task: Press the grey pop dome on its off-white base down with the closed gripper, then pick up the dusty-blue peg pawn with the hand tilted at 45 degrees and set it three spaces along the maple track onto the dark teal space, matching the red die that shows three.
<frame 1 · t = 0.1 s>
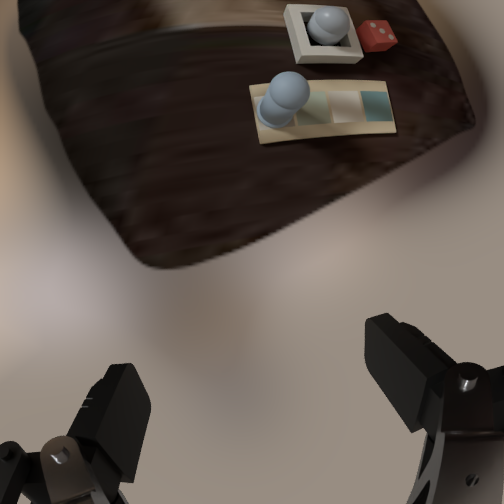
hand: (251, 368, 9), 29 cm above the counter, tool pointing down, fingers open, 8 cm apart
pawn: (274, 111, 33), point 1 cm above the counter, touching track
dome: (330, 22, 27), point 5 cm above the counter, slide at 0.0 cm
dome base: (319, 37, 31), on the counter
track: (327, 108, 34), on the counter
die: (370, 40, 32), on the counter
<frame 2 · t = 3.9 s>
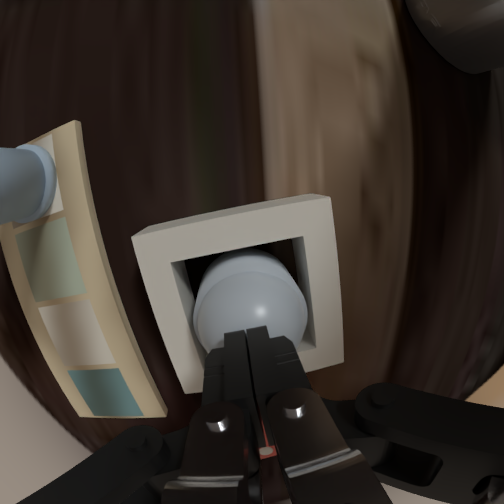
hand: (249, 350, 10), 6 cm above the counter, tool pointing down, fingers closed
pawn: (29, 183, 13), point 1 cm above the counter, touching track
dome: (250, 317, 13), point 4 cm above the counter, slide at 1.3 cm, touching gripper
dome base: (245, 287, 16), on the counter
track: (66, 296, 15), on the counter
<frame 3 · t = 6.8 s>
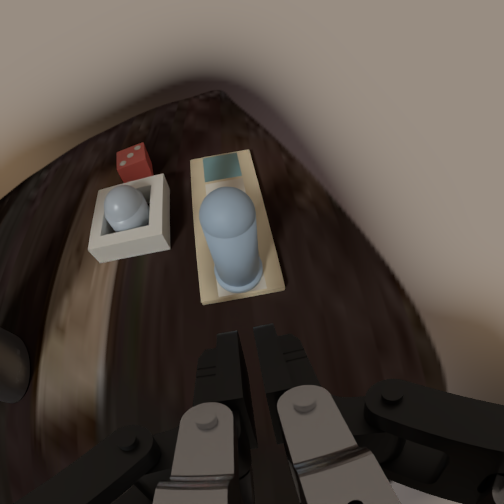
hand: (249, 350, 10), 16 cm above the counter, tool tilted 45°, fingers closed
pawn: (238, 271, 28), point 1 cm above the counter, touching track
dome: (124, 207, 30), point 3 cm above the counter, slide at 1.7 cm
dome base: (135, 224, 33), on the counter
track: (229, 215, 33), on the counter
die: (139, 176, 37), on the counter
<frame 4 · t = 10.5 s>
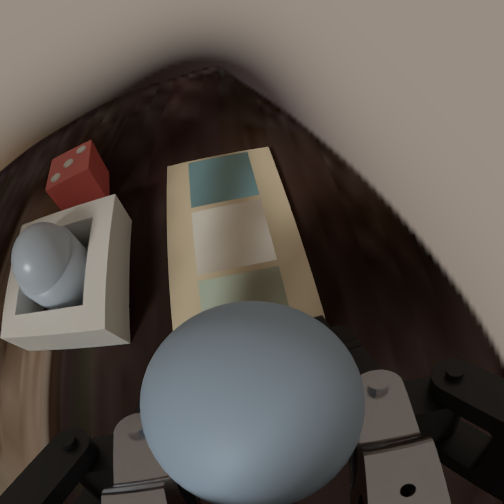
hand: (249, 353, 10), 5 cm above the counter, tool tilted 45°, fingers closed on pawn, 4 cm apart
pawn: (264, 405, 12), point 1 cm above the counter, touching gripper, track
dome: (48, 263, 14), point 3 cm above the counter, slide at 1.7 cm
dome base: (75, 286, 17), on the counter
track: (239, 276, 17), on the counter
die: (89, 195, 21), on the counter
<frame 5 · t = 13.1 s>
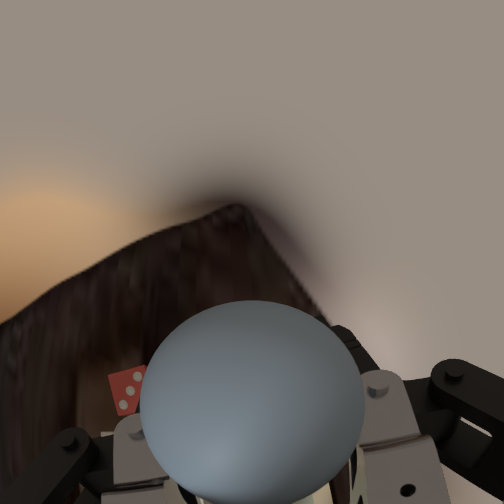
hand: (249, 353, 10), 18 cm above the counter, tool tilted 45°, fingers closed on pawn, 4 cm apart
pawn: (264, 405, 12), point 14 cm above the counter, touching gripper
track: (281, 473, 20), on the counter
die: (147, 393, 25), on the counter
when the fingers open (6 cm above the counter, at t = 15.5 s): pawn drops 1 cm, resting on track.
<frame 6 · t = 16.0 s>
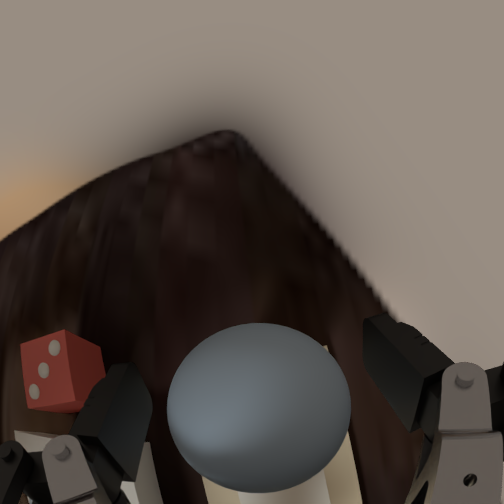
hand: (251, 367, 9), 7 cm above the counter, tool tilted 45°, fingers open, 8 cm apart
pawn: (265, 406, 13), point 1 cm above the counter, touching track
dome base: (101, 499, 11), on the counter
die: (82, 381, 15), on the counter
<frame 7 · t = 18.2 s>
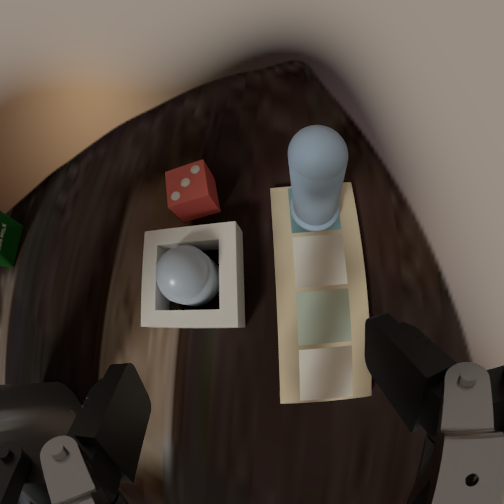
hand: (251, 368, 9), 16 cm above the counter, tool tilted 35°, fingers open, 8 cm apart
pawn: (314, 208, 26), point 1 cm above the counter, touching track
milk carton: (10, 245, 35), on the counter
dome: (184, 274, 24), point 3 cm above the counter, slide at 1.7 cm
dome base: (197, 281, 27), on the counter
track: (321, 289, 25), on the counter
die: (199, 200, 30), on the counter
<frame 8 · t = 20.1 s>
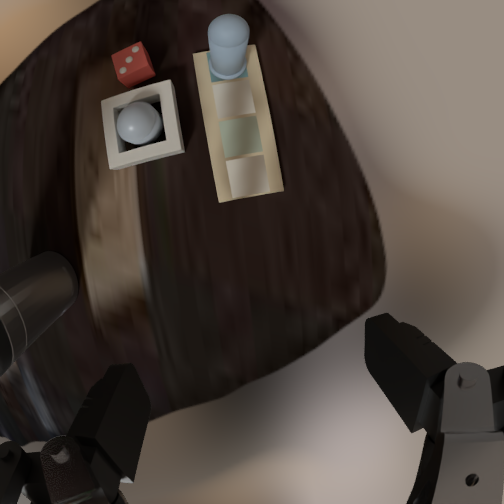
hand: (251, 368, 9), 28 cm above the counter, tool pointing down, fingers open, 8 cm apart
pawn: (227, 64, 30), point 1 cm above the counter, touching track
dome: (137, 122, 29), point 3 cm above the counter, slide at 1.7 cm
dome base: (145, 127, 32), on the counter
track: (236, 118, 33), on the counter
die: (138, 70, 30), on the counter
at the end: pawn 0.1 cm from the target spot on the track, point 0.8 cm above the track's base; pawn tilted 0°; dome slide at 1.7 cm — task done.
